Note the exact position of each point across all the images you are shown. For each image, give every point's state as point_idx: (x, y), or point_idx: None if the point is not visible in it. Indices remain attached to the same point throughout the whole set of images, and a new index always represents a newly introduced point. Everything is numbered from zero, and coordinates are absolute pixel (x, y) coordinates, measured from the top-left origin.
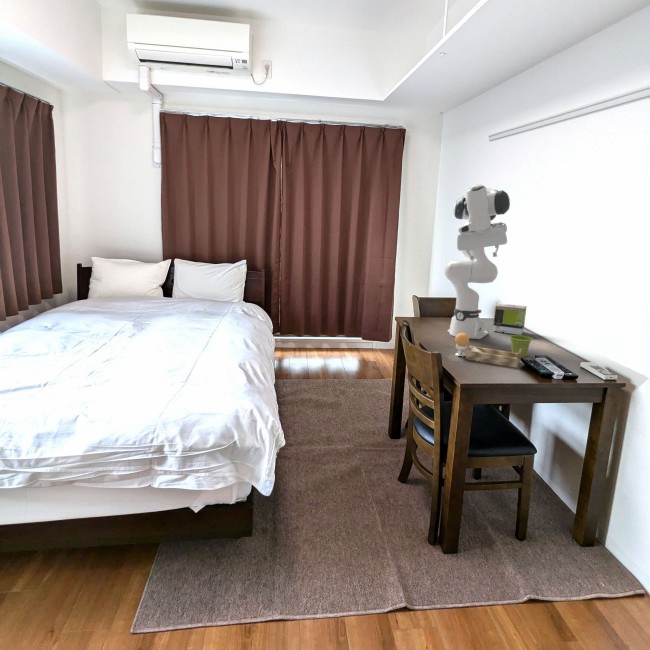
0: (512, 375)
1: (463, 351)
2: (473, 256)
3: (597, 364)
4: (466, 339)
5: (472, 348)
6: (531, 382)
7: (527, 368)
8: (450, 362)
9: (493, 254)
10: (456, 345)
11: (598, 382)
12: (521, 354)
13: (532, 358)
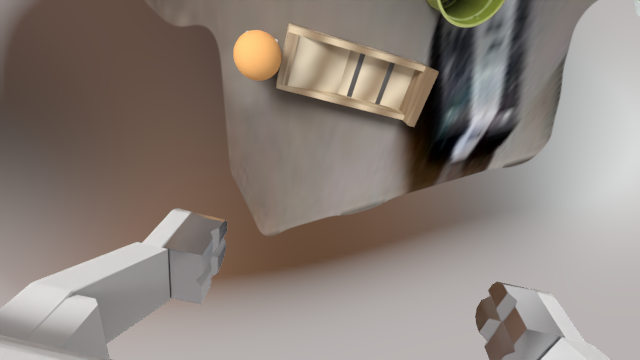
0: (370, 168)
1: None
2: (210, 259)
3: (637, 8)
4: (271, 76)
5: (294, 60)
6: (395, 195)
7: None
8: (235, 122)
9: (490, 345)
10: None
11: (532, 154)
12: (447, 11)
13: None
